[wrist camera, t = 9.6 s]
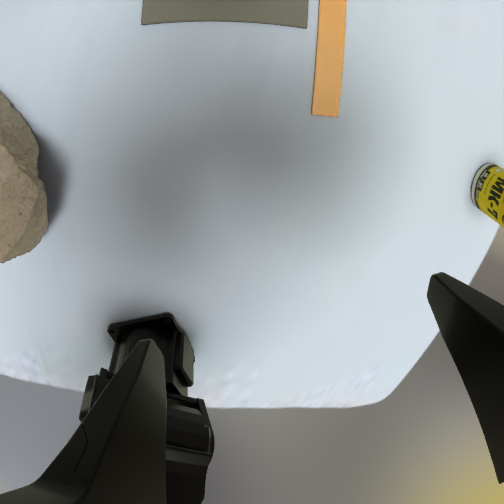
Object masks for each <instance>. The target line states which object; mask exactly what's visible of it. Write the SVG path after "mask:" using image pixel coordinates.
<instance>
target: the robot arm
mask: <svg viewBox="0 0 504 504" xmlns="http://www.w3.org/2000/svg"><path fill="white" fill-rule="evenodd" d="M427 299H428V302H429V304H430V306H431V309H432V311H433V314H434V316H435V319H436V321H437V324H438V327H439V329H440V332H441V334H442V337H443V339H444V341H445V343H446V345H447V347H448V349H449V351H450V354H451V356H452V358H453V360H454V362H455V364H456V366H457V369H458V371H459V373H460V375H461V377H462V380H463V382H464V385H465V387H466V389H467V392H468V394H469V396H470V399H471V401H472V404H473V406H474V409H475V412H476V414H477V417H478V419H479V422H480V425H481V428H482V430H483V433H484V436H485V439H486V443H487V446H488V449H489V452H490V455H491V458H492V461H493V465H494V468H495V472H496V475H497V479H498V482H499V484H501V483H502V482H504V305H502V304H500V303H499V302H497V301H495V300H493V299H492V298H490V297H488V296H486V295H485V294H483V293H481V292H479V291H477V290H475V289H474V288H472V287H470V286H468V285H466V284H464V283H463V282H461V281H459V280H457V279H455V278H453V277H451V276H449V275H448V274H446V273H443V272H440V273H436V274H433V275H432V276H431V278H430V282H429V287H428V291H427ZM166 319H169V320H166ZM108 333H109V334H110V336H111V337H112V339H113V340H114V341H115V346H114V350H113V354H112V358H111V362H110V366H109V370H107V369H104V368H101V370H100V372H99V375H94V376H89V377H88V381H87V385H86V388H85V392H84V396H83V401H82V405H81V410H80V415H79V420H80V421H81V424H80V426H79V427H78V429H77V430H76V431H75V433H74V434H73V436H72V437H71V439H70V440H69V441H68V443H67V444H66V446H65V447H64V448H63V449H62V451H61V452H60V453H59V454H58V456H57V457H56V458H55V460H53V462H52V463H51V464H50V465H49V467H48V468H47V469H46V471H45V472H44V473H43V474H42V475H41V477H40V478H38V479H37V480H36V481H35V482H33V483H32V484H30V485H28V486H25V487H22V488H19V489H16V490H13V491H9V492H6V493H3V494H0V504H201V503H202V501H203V499H204V494H205V480H206V473H207V469H208V465H209V463H210V461H211V459H212V456H213V452H214V434H213V430H212V427H211V424H210V420H209V417H208V414H207V410H206V406H205V403H204V400H203V399H199V398H196V399H195V398H191V397H188V387H190V386H192V385H193V363H194V362H195V356H194V350H193V348H192V346H191V344H190V343H189V341H188V339H187V337H186V335H185V333H183V332H181V330H180V329H179V327H178V325H177V323H176V321H175V319H174V317H173V316H172V315H171V314H162V315H157V316H152V317H147V318H142V319H137V320H132V321H127V322H122V323H117V324H111V325H109V327H108Z"/></svg>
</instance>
